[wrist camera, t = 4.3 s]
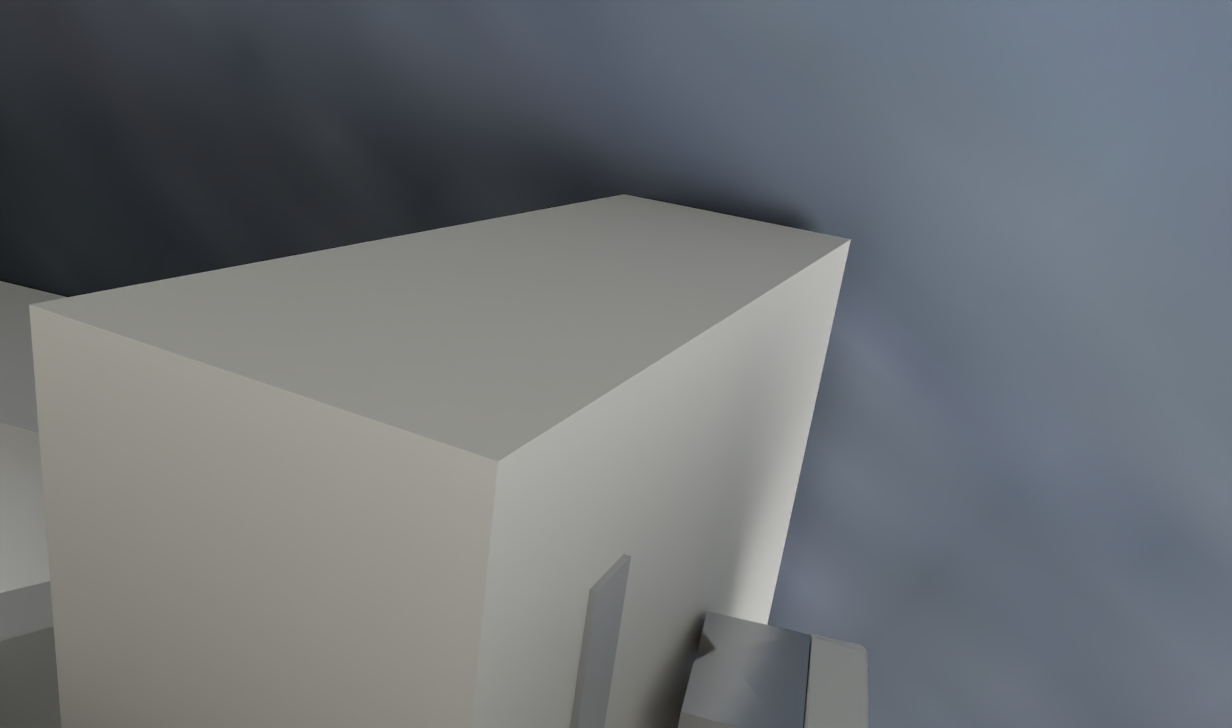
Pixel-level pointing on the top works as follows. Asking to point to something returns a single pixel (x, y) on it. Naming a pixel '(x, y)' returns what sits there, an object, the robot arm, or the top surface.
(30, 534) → the rack
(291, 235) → the top surface
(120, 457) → the panel
